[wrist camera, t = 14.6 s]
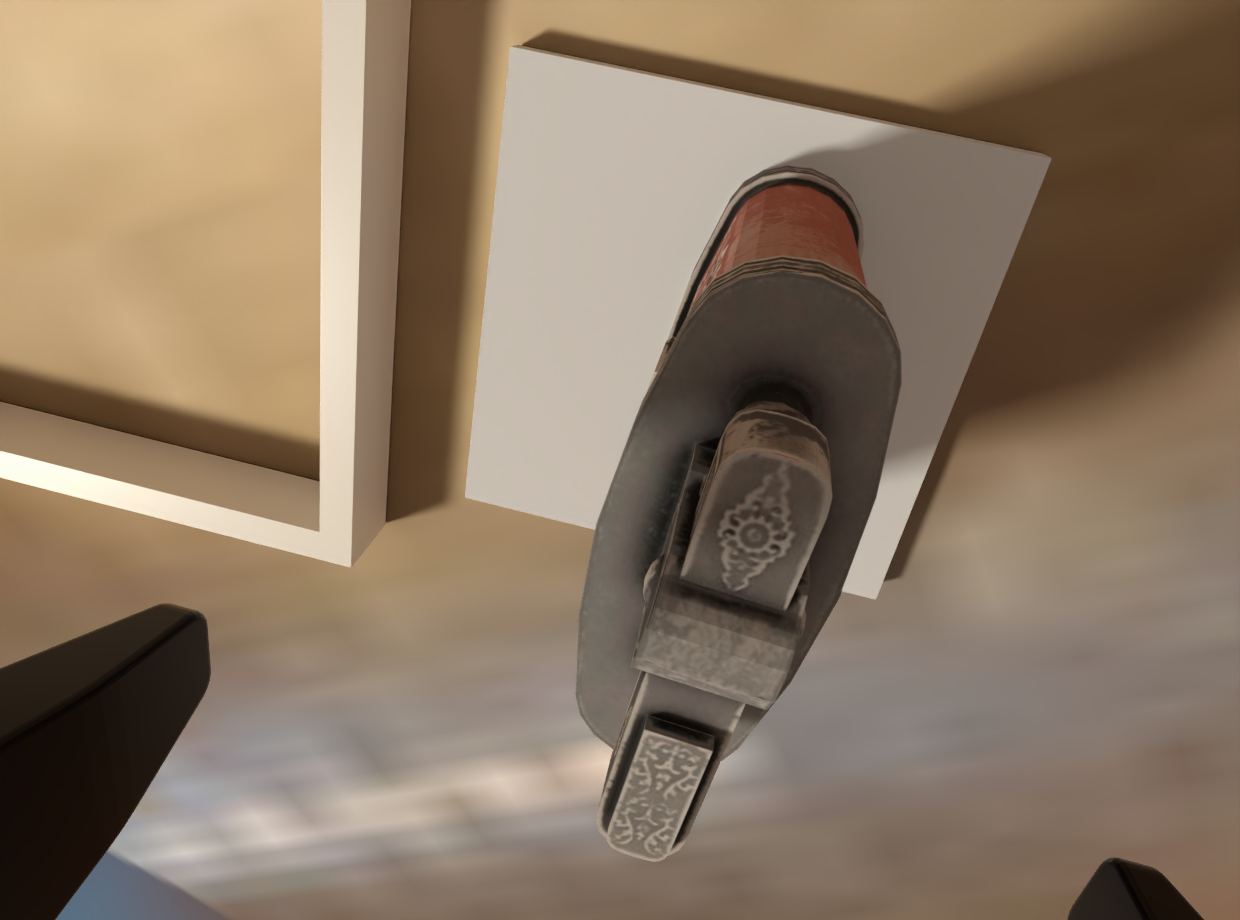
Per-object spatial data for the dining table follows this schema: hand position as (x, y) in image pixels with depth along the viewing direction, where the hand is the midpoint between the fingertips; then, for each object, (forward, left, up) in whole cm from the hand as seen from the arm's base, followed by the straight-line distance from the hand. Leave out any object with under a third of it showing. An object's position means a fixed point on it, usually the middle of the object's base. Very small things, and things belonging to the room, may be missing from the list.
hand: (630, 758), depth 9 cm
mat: (0, 0, -12) cm, 12 cm away
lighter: (0, +1, -11) cm, 11 cm away
